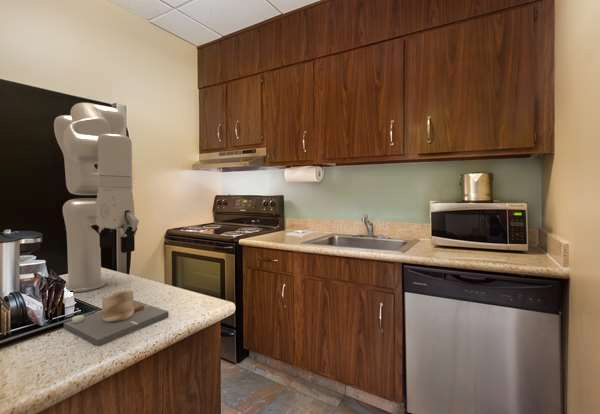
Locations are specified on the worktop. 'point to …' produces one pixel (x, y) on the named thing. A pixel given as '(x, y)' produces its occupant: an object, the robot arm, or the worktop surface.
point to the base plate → (113, 324)
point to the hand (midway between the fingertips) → (116, 249)
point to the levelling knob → (119, 306)
